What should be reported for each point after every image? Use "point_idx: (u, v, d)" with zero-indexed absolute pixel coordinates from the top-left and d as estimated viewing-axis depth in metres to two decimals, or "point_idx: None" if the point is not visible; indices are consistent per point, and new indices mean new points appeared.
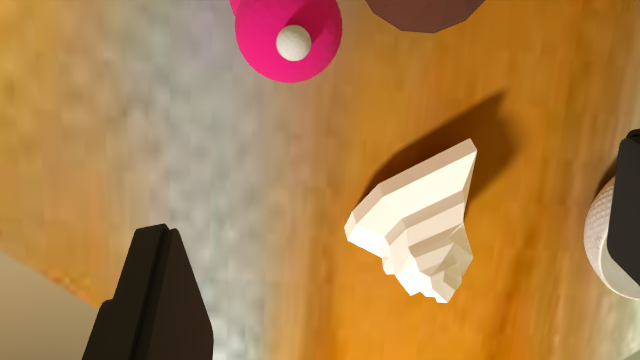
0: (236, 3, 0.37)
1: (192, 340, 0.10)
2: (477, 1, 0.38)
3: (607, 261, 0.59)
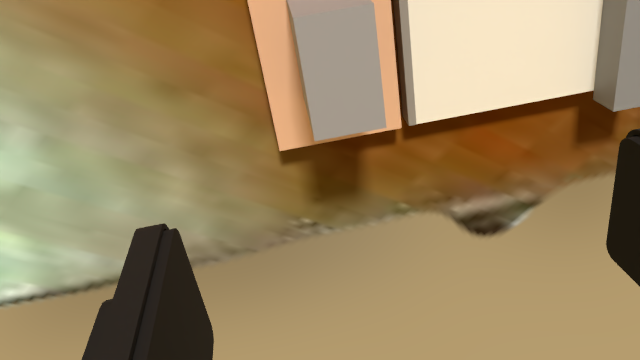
0: None
1: (192, 340, 0.10)
2: None
3: None
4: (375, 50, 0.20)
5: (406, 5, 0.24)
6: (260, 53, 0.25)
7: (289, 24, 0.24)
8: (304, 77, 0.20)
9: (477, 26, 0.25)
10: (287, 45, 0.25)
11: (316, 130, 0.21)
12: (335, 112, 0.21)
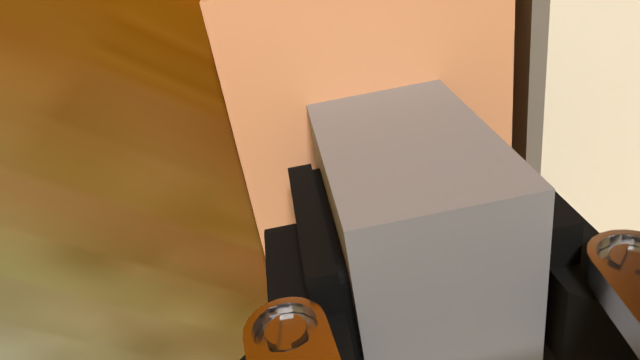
0: None
1: None
2: None
3: None
4: (541, 286, 0.08)
5: (540, 117, 0.13)
6: (256, 209, 0.13)
7: (313, 158, 0.12)
8: (364, 348, 0.08)
9: None
10: None
11: None
12: None
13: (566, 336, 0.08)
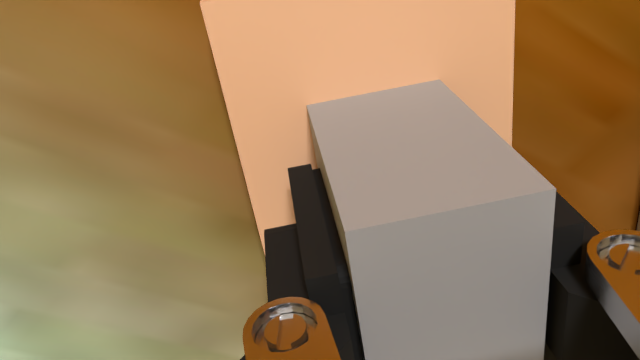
0: None
1: None
2: None
3: None
4: (542, 286, 0.08)
5: None
6: (256, 210, 0.13)
7: (313, 158, 0.12)
8: (366, 348, 0.08)
9: None
10: None
11: None
12: None
13: (566, 336, 0.08)
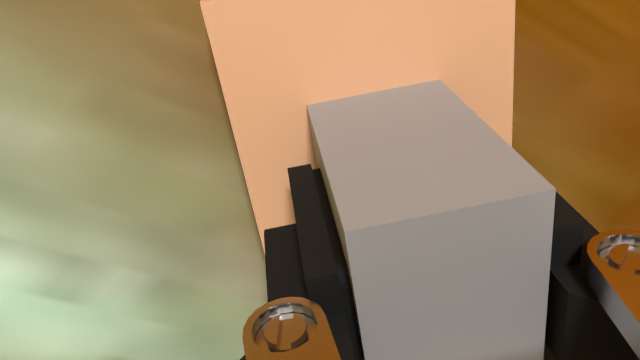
0: None
1: None
2: None
3: None
4: (541, 286, 0.08)
5: None
6: (256, 209, 0.13)
7: (313, 158, 0.12)
8: (365, 348, 0.08)
9: None
10: None
11: None
12: None
13: (566, 336, 0.08)
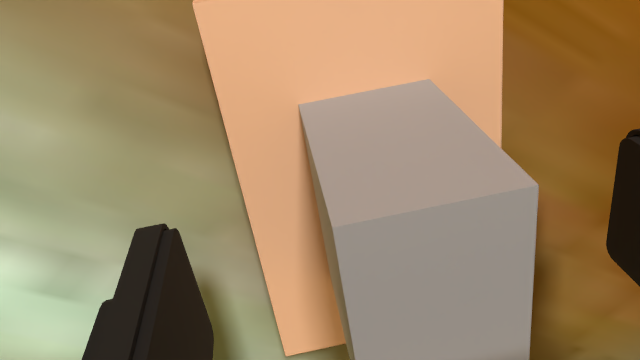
0: None
1: (192, 340, 0.10)
2: None
3: None
4: (526, 281, 0.08)
5: None
6: (249, 208, 0.13)
7: (305, 157, 0.12)
8: (354, 342, 0.09)
9: None
10: (301, 192, 0.13)
11: None
12: None
13: None
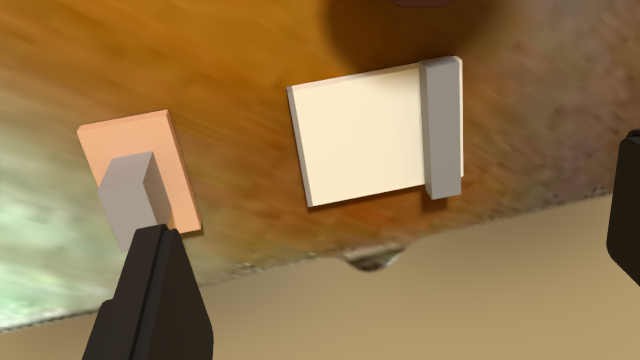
0: None
1: (192, 340, 0.10)
2: None
3: None
4: (148, 205, 0.36)
5: (300, 140, 0.40)
6: None
7: None
8: (109, 220, 0.36)
9: (345, 150, 0.41)
10: None
11: (121, 246, 0.37)
12: (130, 237, 0.37)
13: None
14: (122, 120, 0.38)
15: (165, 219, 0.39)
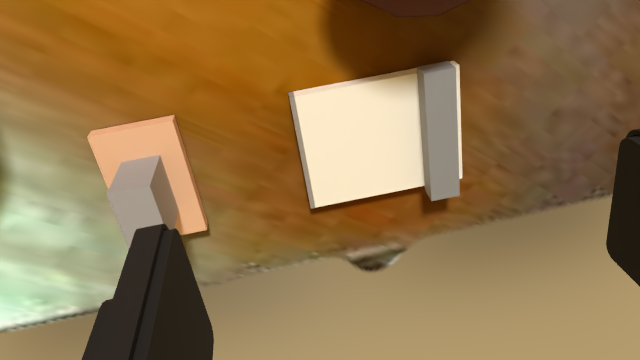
0: None
1: (192, 340, 0.10)
2: None
3: None
4: (156, 207, 0.37)
5: (302, 143, 0.42)
6: None
7: None
8: (118, 221, 0.37)
9: (346, 153, 0.43)
10: None
11: None
12: None
13: None
14: (131, 126, 0.40)
15: (172, 220, 0.40)
